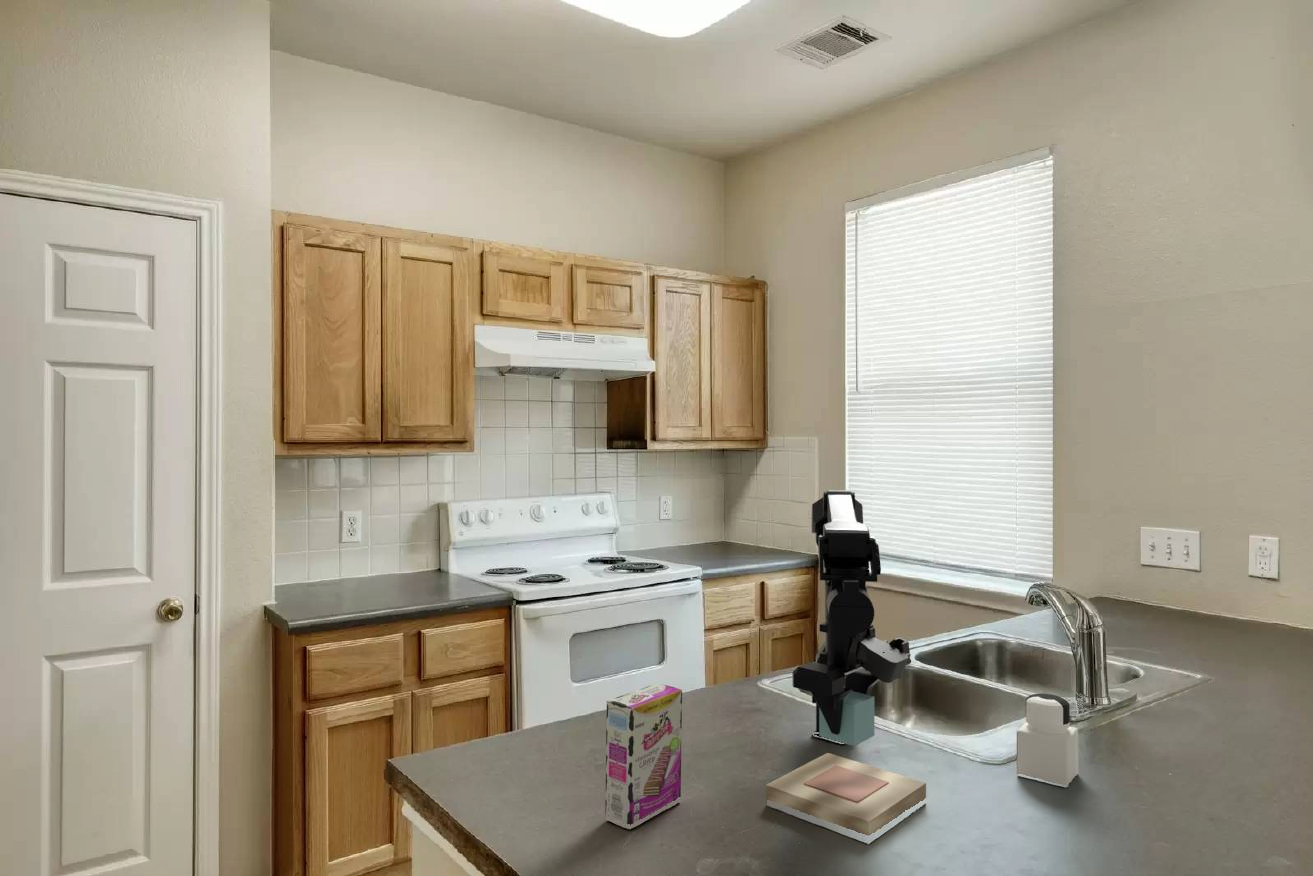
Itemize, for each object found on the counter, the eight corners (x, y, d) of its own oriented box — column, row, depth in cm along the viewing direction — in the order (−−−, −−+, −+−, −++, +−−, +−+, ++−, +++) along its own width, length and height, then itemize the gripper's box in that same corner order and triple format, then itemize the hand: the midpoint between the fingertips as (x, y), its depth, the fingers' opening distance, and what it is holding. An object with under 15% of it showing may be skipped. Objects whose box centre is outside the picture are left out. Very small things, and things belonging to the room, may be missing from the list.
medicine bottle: (1029, 762, 130) (1029, 687, 130) (1078, 774, 126) (1078, 696, 126) (1016, 777, 125) (1016, 698, 125) (1067, 789, 120) (1067, 708, 120)
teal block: (819, 736, 115) (819, 697, 115) (840, 726, 119) (840, 688, 119) (854, 746, 112) (854, 706, 111) (874, 735, 115) (874, 696, 115)
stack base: (765, 806, 115) (765, 783, 115) (827, 772, 127) (827, 751, 127) (868, 845, 104) (868, 820, 104) (926, 804, 116) (926, 781, 116)
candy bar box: (632, 833, 107) (631, 708, 107) (604, 822, 111) (603, 700, 111) (684, 803, 116) (683, 687, 116) (656, 794, 119) (656, 681, 119)
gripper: (864, 639, 103) (864, 763, 103) (930, 615, 117) (931, 725, 117) (789, 625, 111) (790, 741, 111) (860, 604, 124) (860, 707, 124)
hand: (846, 728), depth 115 cm, fingers closed on teal block, 5 cm apart
